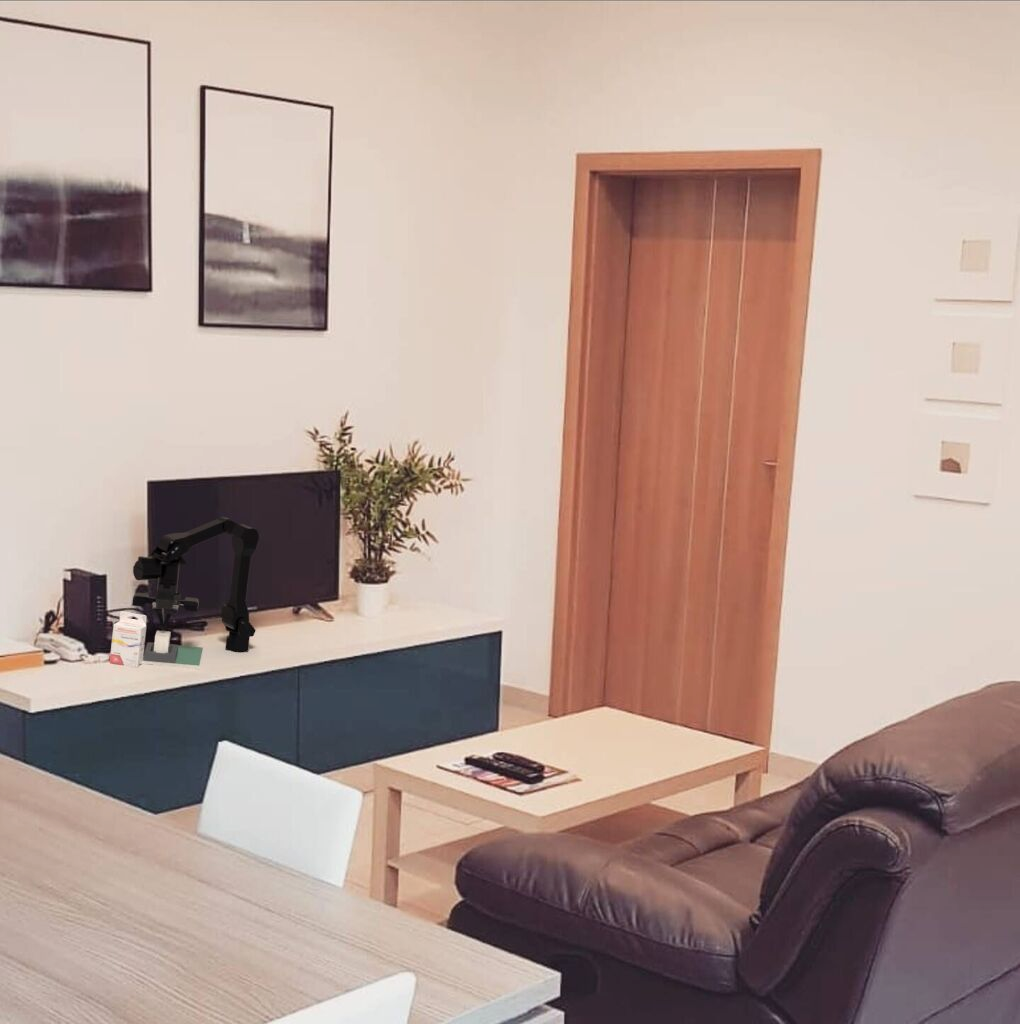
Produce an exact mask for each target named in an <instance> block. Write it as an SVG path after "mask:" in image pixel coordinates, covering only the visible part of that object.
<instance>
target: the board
mask: <svg viewBox="0 0 1020 1024" xmlns="http://www.w3.org/2000/svg"><path fill="white" fill-rule="evenodd" d="M154 643H155V642H147V643H146V645H145V646H146V647H145V648H144V655H143V661H144V662H152V663H162V664H163V663H164V664H165V663H166V664H175V665H184V666H185V665H188V666H198V667H199V666H200V664H201V659H202V655H203V650H204V647H200V646H189V645H188V646H187V645H179V644H173V643H170V645H169V653H167V652H165V653H156V652H155V651H154ZM148 665H151V666H153V664H151V663H148Z"/></svg>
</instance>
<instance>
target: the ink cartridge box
mask: <svg viewBox="0 0 1020 1024" xmlns="http://www.w3.org/2000/svg"><path fill="white" fill-rule="evenodd" d="M129 617H130V618H129ZM131 617H134V618H137V619H133V618H131ZM147 619H148V617H147V615H145V614H139V613H133V612H129V611H123V610H121V611H120V612H119V621H117V622H116V623H114V624H113V629H112V636H111V645H110V647H111V648H110V656H109V664H113V665H119V666H124V665H125V666H124V667H130V666H132V667H131V668H136V667H137V668H139V667H140V666H141V665H142V662H143V661H144V652H145V646H146V645H145V644H146V634H147Z"/></svg>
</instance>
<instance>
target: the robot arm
mask: <svg viewBox="0 0 1020 1024" xmlns="http://www.w3.org/2000/svg"><path fill="white" fill-rule="evenodd" d="M225 533H226V534H228V536H229V535H230V536H231V546H232V548H233V552H234V560H233V562H234V563H233V568H232V578H231V585H230V594H229V595H230V596H229V600H228V601H227V603H226V604H221V613H220V616H219V617H220V618H221V623H223V625H224V627H225V631H227V632H228V635H227V636H226V640H225V641H226V642H225V651H229V652H233V653H248V652H249V647H250V637H254V635H255V633H256V628H255V627H254V626H253V624H251V623H250V611H249V608H248V605H247V594H248V586H249V577H250V569H251V560H252V559H251V558H252V556H253V554H254V553H255V551H256V550H257V547H258V546H259V545H258V544H259V540H260V533H259V531H258V530H257V529H255V528H253V527H250V526H248V525H246V524H243V523H241V524H238V523H237V522H235V521H233V520H232V519H230V518H228V517H226V516H219V517H217V518H216V519H215V520H212V521H210V522H207V523H204V524H202V525H199V526H198V527H194V528H193V529H190V530H188V531H185V532H174V533H168V534H164V535H163V536H161V537H160V539H159V541H158V543H157V545H156V546H155V548H154V549H153V550H152V552H151V553H150V554H149V556H143V555H141V556H138V557H137V560H136V562H135V563H134V565H133V567H132V569H133V570H132V573H133V577H134V579H135V580H136V581H149V580H150V581H151V580H152V581H155V580H157V586H156V587H157V588H156V589H157V590H156V592H155V597H153V596H149V593H146V592H145V593H144V592H136V593H134V595H133V596H132V604H131V605H132V607H133V606H134V607H144V606H146V604H149V605H152V607H151V609H152V611H155V612H156V614H157V617H158V620H159V624H160V628H161V630H160V631H166V628H167V626H168V623H169V621H170V619H171V617H172V615H173V614H174V613H178V611H179V607H182V608H184V609H185V611H187V612H198V611H199V610H198V609H199V605H200V603H199V602H200V601H199V598H198V597H189V596H188V597H187V596H185V598H184V599H181V595H182V593H181V592H178V586H179V585H178V583H179V576H180V575H179V574H180V567H181V566H180V565H187V564H188V562H187V561H186V560H185V559H184V558H183V555H185V554H187V553H188V552H189V551H190V549H192V548H193V547H195V546H197V545H199V544H202V543H203V542H206V541H208V540H211V539H213V538H216V537H219V536H220V535H223V534H225ZM164 609H165V610H166V614H164V613H165V611H164ZM164 615H165V616H164Z"/></svg>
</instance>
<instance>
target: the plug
mask: <svg viewBox="0 0 1020 1024" xmlns="http://www.w3.org/2000/svg"><path fill="white" fill-rule="evenodd" d="M170 641H171V631H169V630H168V631H167V630H164V631H162V630H156V632H155V635H154V642H153V643H154V651H155V652H156V653H165V652H167V653H169V645H170V644H171V642H170Z"/></svg>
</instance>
